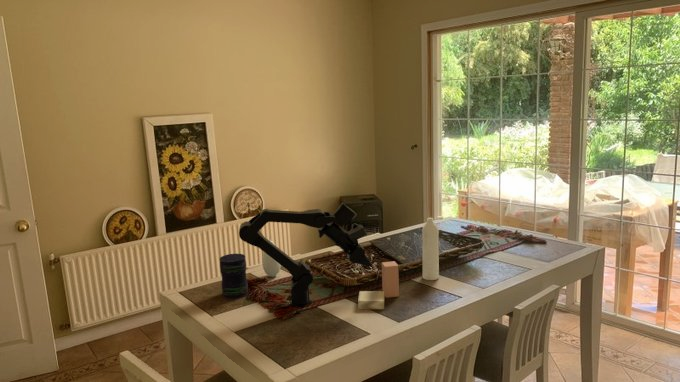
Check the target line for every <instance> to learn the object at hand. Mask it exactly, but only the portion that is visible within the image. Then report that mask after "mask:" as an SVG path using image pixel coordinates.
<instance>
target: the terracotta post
mask: <svg viewBox="0 0 680 382" xmlns="http://www.w3.org/2000/svg"><path fill="white" fill-rule="evenodd" d="M381 279H382V281H381V283H382V285H381V286H382V290H381V291H384V298H394V297H395V298H396V297H397V298H398V297H399V296H400V287H399V285H400V284H399V281H400V280H399V264H398V263H397V262H396V261H394V260H393V261H392V260H391V261H384V262H381Z"/></svg>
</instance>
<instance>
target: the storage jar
mask: <svg viewBox="0 0 680 382" xmlns="http://www.w3.org/2000/svg"><path fill="white" fill-rule="evenodd" d="M219 271H220V275H221V291H222V297H223V298H224V299H226V300H238V299H242V298H244V297H247V295H249V291H248V290H249V285H248V284H249V283H248V279H247V262H246V255H245V254H242V253H229V254H225V255H223V256H220V257H219Z"/></svg>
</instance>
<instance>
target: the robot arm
mask: <svg viewBox="0 0 680 382" xmlns="http://www.w3.org/2000/svg"><path fill="white" fill-rule="evenodd" d="M357 215H358V214H357V213H356V212H355V211H354V210H352V209H351V208H350V207H349V206H347V205H346V204H345V203H344V202H341V203H340V205H339V206H338V207H337V209H336V210H335V211H334V212H330V211H323V210H322V209H319V208H315V209H307V210H303V211H293V210H292V211H291V210H280V209H279V210H278V209H268V208H264V209H262V210H261V211H260V212H259V213H258V214H256V215H254V216H252V218H250V219H249V220H248V221H244V222H242V223H241V224H240V226H239V228H238V229H239V230H238V237H239V238H240V239H241V241H242V242H245V243H246V244H248V245H251V246H254V247H256V248H258V249H260V250H261V251H262V252H265V253H266V254H267V255H269V256H270V257H271V258H273V259H274V260H275V261H276V262H278V263H279V264H280V265H281V267H283V268H285V269H286V270H287V271H288V273H289V274H290V275H291V276H292V277H291V278H290V283H291V284H290V285H291V289H290V297H291V298H290V301H289V302H288V305H289V303H290V304H291V305H290V306H292V305H295V306H298V307H297V308H299V307H300V308H299V309H303V308H304V307H307V306H308V305H310V304H312V303H313V300H312V299H310V289H309V286H310V285H311V284H312V283H313V282H314V275H313V273H312V269H311V266H310V265H309V264H307V263H305V261H304V260H303V259H300V260H299V261H297V260H295V259H293V258H292V257H291V256H289V255H288V254H287V253H286V252H284V251H283V250H282V249H280V248H279V247H278V246H277V245H276V244H275V243H274V244H275V245H276V246H275V245H274V244H273V243H271V242H270V239H267V238H266V237H265V235H263V233H262V232H261V230H262V229H263V227H265V226H266V225H267V224H268V223H285V224H286V223H288V224H302V225H304V226H307V227H311V228H315V229H317V236H318V237H319V238H322V237H323V236H324V235H325V236H326V237H327V238H328V239H330V240H331V241H332V243H334V244H335V246H337V247H339V249H341V250H342V251H343V253H344V254H347V258H348V260H349V261H350V262H351V263H352V264H357V265H361V266H366V267H369V268H372V266H373V264H372V263H371V261H370V260H369V259H368V258H367V256H366V250H365V248H364V247H363V246H362V245H361V244H359V240H360V239H361V238H363V237H366V236H367V235H368V233H367V231H366V229H365V227H364V226H363V225H362V224H360V223H359V224H357V223H355V222H354V223H352V224H351V228H350V230H349V231H347V230H346V229H343V227H348V225H350V223H351V222H352V221H353V220H354V219H355V218H356V216H357ZM336 222H337V223H338V224H337V223H336ZM295 306H294V307H295Z"/></svg>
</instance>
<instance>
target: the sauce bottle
mask: <svg viewBox="0 0 680 382" xmlns="http://www.w3.org/2000/svg"><path fill="white" fill-rule="evenodd" d="M269 241H270V242H271V243H273V244H274V245H275V246H276V247H277V245H276V244H275V242H274V241H273V240H272V239H271V237H269ZM261 258H262V259H261V264H262V269H263V271H264V273H265V274H266V275H267V276H268V277H271V278H274V277H276V276H277V275H278V274H279V273H280V270H281V269H282V268H281V267H282V265H280V264H279V263H278V262H276V261H275V260H274V259H273V258H271V257H270V256H269V255H267V254H266V253H265V252H264V251H262V257H261Z"/></svg>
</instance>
